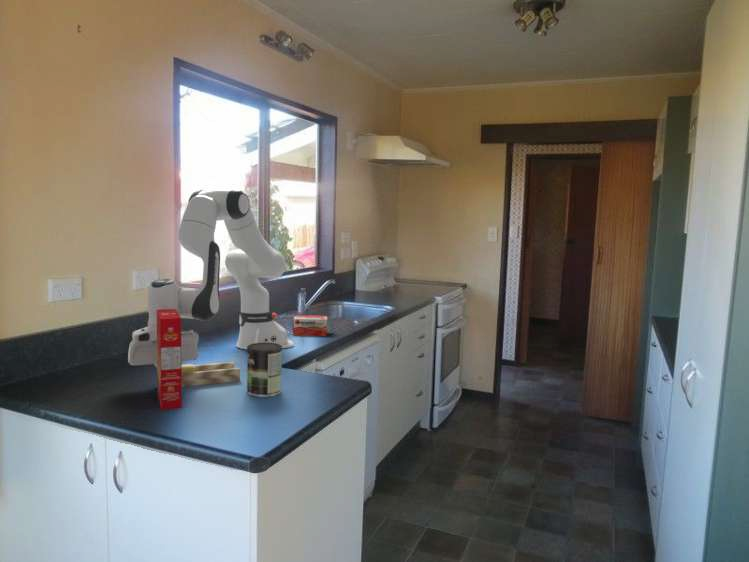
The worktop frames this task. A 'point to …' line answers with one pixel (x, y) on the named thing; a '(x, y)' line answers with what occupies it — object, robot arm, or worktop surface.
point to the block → (187, 368)
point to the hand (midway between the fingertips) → (164, 376)
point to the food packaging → (169, 359)
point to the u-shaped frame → (211, 374)
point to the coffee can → (264, 369)
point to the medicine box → (310, 325)
